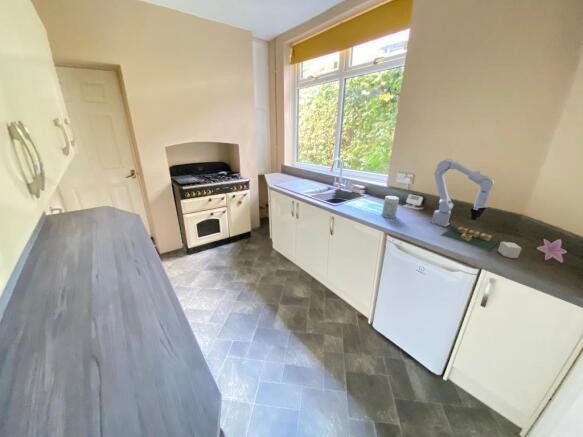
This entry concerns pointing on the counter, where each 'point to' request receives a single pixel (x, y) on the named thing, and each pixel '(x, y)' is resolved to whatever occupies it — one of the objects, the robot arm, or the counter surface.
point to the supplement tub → (390, 206)
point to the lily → (552, 250)
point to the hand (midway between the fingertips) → (475, 218)
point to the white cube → (509, 249)
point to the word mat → (474, 241)
